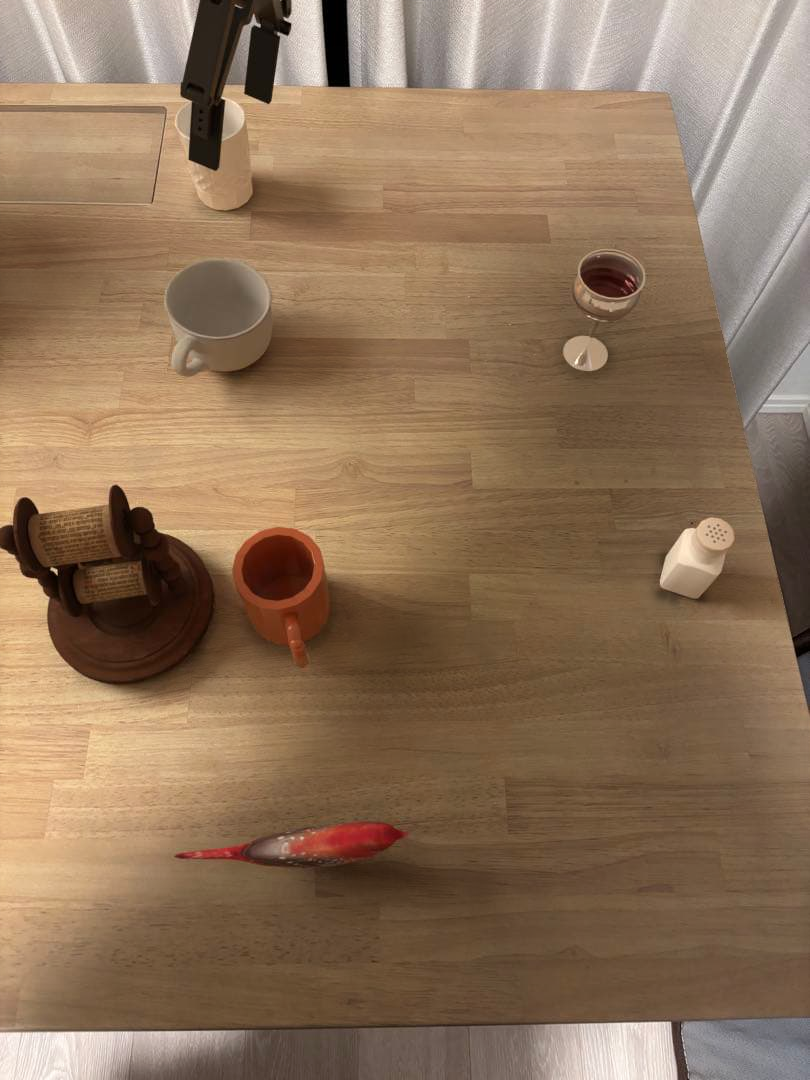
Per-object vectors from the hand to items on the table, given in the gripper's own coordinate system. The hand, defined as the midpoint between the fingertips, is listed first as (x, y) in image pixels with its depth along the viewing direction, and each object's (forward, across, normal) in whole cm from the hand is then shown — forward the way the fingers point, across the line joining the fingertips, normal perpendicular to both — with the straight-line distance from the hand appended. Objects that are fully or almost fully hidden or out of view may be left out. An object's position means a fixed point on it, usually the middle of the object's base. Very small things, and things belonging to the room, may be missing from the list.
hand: (232, 129), depth 80 cm
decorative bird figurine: (+23, -56, -31) cm, 68 cm away
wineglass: (+10, +2, -42) cm, 43 cm away
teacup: (+20, -10, -5) cm, 23 cm away
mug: (+21, -37, -23) cm, 48 cm away
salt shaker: (+11, -22, -56) cm, 62 cm away
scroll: (+24, -40, -9) cm, 48 cm away
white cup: (+17, +14, +5) cm, 23 cm away
